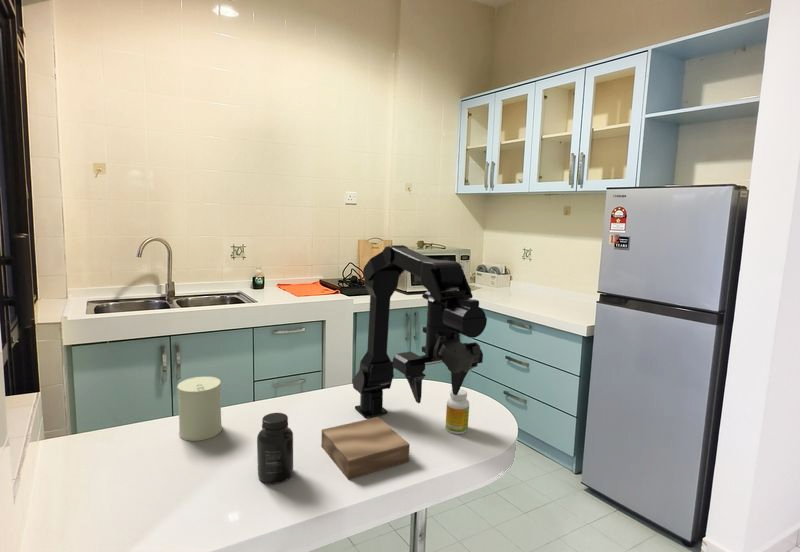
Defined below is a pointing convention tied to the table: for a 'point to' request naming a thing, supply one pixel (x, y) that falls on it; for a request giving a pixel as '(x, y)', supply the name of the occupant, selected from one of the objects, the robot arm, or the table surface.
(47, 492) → the table surface
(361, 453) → the block
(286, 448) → the supplement bottle
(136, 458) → the table surface
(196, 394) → the can
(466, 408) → the supplement bottle
